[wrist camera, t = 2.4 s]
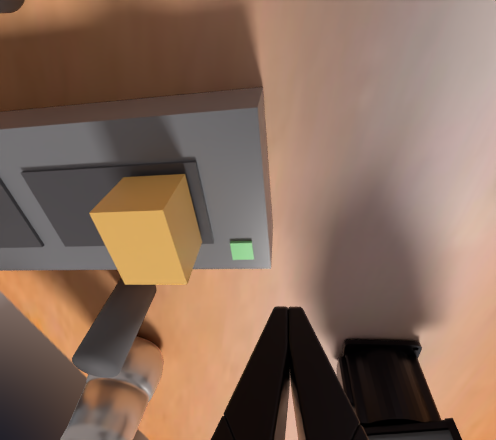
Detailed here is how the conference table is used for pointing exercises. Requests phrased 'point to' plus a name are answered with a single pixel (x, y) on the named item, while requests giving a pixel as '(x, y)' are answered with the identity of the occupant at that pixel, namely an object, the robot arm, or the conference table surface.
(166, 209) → the toggle amber
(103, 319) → the cylinder
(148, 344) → the plastic bottle
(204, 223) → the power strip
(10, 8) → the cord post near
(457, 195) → the conference table surface
